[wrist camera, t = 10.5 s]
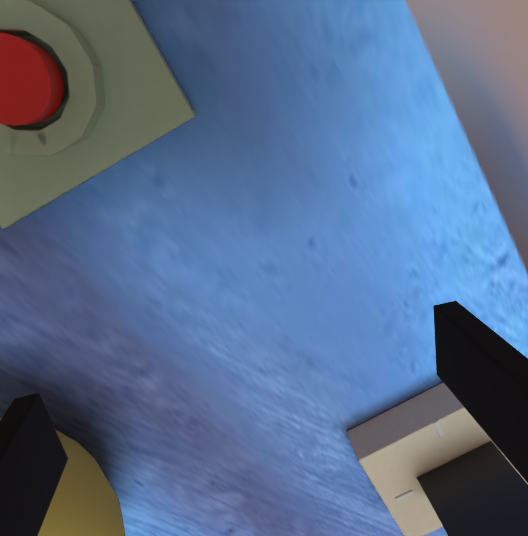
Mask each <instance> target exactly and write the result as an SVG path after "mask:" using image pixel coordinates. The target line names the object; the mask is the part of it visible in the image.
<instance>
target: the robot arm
mask: <svg viewBox="0 0 528 536" xmlns="http://www.w3.org/2000/svg"><path fill="white" fill-rule="evenodd" d="M434 324H435V345H436V366H437V375H438V376H439V378H440V379H441V380H442V381H443V382H444V384H445V385H446V386H447V387H448V388H449V390H450V391H451V392H452V393H453V394H454V396H455V397H456V398H457V399H458V400H459V402H460V403H461V404H462V405H463V406H464V408H465V409H466V410H467V411H468V412H469V413H470V415H471V416H472V417H473V418H474V419H475V421H476V422H477V423H478V424H479V425H480V427H481V428H482V429H483V430H484V431H485V433H486V434H487V435H488V436H489V437H490V439H491V440H492V441H493V442H494V443H495V445H496V446H497V447H498V448H499V449H500V451H501V452H502V453H503V454H504V455H505V457H506V458H507V459H508V460H509V461H510V463H511V464H512V465H513V466H514V467H515V469H516V470H517V471H518V472H519V473H520V475H521V476H522V477H523V478H524V479H525V481H526V482H527V483H528V359H527V358H526V357H525V356H524V355H522V354H521V353H520V352H519V351H517V350H516V349H515V348H514V347H512V346H511V345H510V344H509V343H508V342H506V341H505V340H504V339H503V338H501V337H500V336H499V335H498V334H496V333H495V332H494V331H493V330H491V329H490V328H489V327H488V326H486V325H485V324H484V323H483V322H481V321H480V320H479V319H478V318H476V317H475V316H474V315H473V314H472V313H470V312H469V311H468V310H467V309H465V308H464V307H463V306H462V305H460V304H459V303H458V302H457V301H453V302H448V303H444V304H439V305H435V306H434ZM67 461H68V457H67V454H66V452H65V450H64V448H63V446H62V443H61V441H60V439H59V437H58V434H57V432H56V430H55V428H54V426H53V423H52V421H51V419H50V417H49V415H48V412H47V410H46V408H45V406H44V403H43V401H42V399H41V397H40V395H39V393H38V394H33V395H29V396H24V397H20V398H15V399H14V401H13V402H12V404H11V405H10V407H9V408H8V410H7V411H6V413H5V414H4V416H3V417H2V419H1V420H0V536H38V534H39V531H40V529H41V526H42V524H43V521H44V519H45V516H46V513H47V511H48V508H49V506H50V503H51V501H52V498H53V496H54V493H55V491H56V488H57V486H58V483H59V481H60V478H61V476H62V473H63V471H64V468H65V466H66V463H67Z"/></svg>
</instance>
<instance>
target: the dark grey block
mask: <svg viewBox="0 0 528 536" xmlns="http://www.w3.org/2000/svg"><path fill="white" fill-rule="evenodd" d="M417 480H418V481H419V483H420V485H421V487H422V489H423V491H424V492H425V494H426V496H427V498H428V500H429V502H430V503H431V505H432V507H433V509H434V511H435V512H436V514H437V516H438V518H439V520H440V522H441V523H442V525H443V527H444V529H445V531H446V532H447V534H448V536H528V484H527V483H526V482H525V480H524V479H523V478H522V477H521V476H520V474H519V473H518V472H517V471H516V470H515V468H514V467H513V466H512V465H511V464H510V462H509V461H508V460H507V459H506V458H505V456H504V455H503V454H502V453H501V452H500V450H499V449H498V448H497V447H496V446H495V444H494V443H493V442H492V441H490V442H488V443H486V444H484V445H482V446H480V447H478V448H476V449H474V450H472V451H470V452H468V453H466V454H464V455H462V456H460V457H458V458H456V459H454V460H452V461H450V462H448V463H445V464H443V465H441V466H439V467H437V468H435V469H433V470H431V471H429V472H427V473H425V474H423V475H421V476H419V477H417Z"/></svg>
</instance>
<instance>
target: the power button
mask: <svg viewBox="0 0 528 536" xmlns="http://www.w3.org/2000/svg"><path fill="white" fill-rule="evenodd" d="M63 92H64V86H63V79H62V75H61V72H60V70H59V68H58V66H57V64H56V62H55V61H54V59H53V58H52V57H51V56H50V55H49V54H48V52H46V51H45V50H44V49H43V48H42V47H40V46H39V45H37V44H35V43H33V42H31V41H29V40H26V39H23V38H20V37H17V36H14V35H11V34H7V33H1V32H0V123H1V124H5V125H12V126H17V125H27V124H35V123H39V122H42V121H45V120H47V119H48V118H50V117H51V116H52V115H53V114H54V113H55V112H56V111H57V110H58V108H59V106H60V104H61V102H62V98H63Z"/></svg>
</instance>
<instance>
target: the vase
mask: <svg viewBox="0 0 528 536" xmlns="http://www.w3.org/2000/svg"><path fill="white" fill-rule="evenodd" d="M1 419H2V418H0V420H1ZM55 430H56V429H55ZM56 432H57V434H58V437H59V439H60V441H61V443H62V446H63V448H64V450H65V452H66V454H67V457H68V461H67V463H66V466H65V468H64V471H63V473H62V476H61V478H60V481H59V483H58V486H57V488H56V491H55V493H54V496H53V498H52V501H51V503H50V506H49V508H48V511H47V513H46V516H45V519H44V521H43V524H42V526H41V529H40V531H39V534H38V536H125V530H124V524H123V519H122V514H121V508H120V503H119V499H118V497H117V495H116V494H115V492H114V490H113V488H112V487H111V485H110V483H109V482H108V480H107V478H106V476H105V475H104V473H103V471H102V470H101V468H100V466H99V465H98V463H97V461H96V460H95V458H94V457H93V456H92V455H91V454H90V453H89V452H88V451H86V450H85V449H84V448H83V447H82V446H81V445H80V444H79V443H78V442H77V441H75V440H73V439H71V438H70V437H68V436H66V435H64V434H63V433H61V432H59V431H57V430H56Z"/></svg>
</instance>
